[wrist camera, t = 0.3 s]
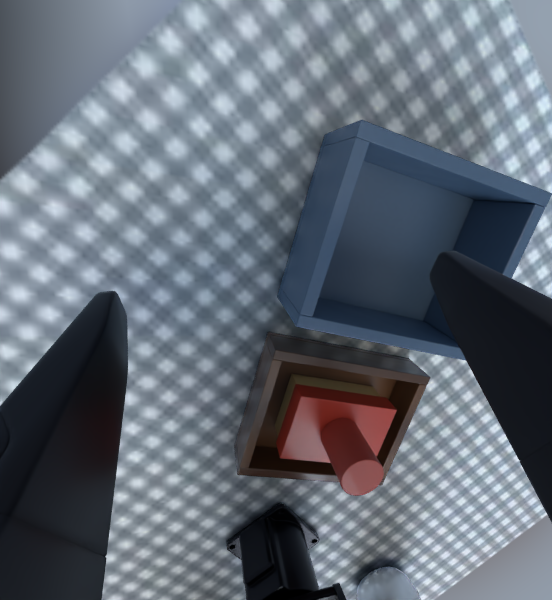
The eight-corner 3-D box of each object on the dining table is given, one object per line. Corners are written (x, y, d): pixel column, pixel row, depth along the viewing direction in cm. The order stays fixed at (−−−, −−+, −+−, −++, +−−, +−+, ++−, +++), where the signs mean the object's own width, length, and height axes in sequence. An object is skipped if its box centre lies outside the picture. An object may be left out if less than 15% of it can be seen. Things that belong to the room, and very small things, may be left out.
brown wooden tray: (366, 459, 31) (382, 486, 29) (234, 446, 28) (237, 475, 25) (409, 358, 29) (430, 377, 26) (267, 331, 26) (275, 349, 23)
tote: (422, 328, 28) (472, 362, 23) (276, 296, 25) (295, 327, 20) (481, 191, 25) (552, 193, 20) (324, 134, 22) (361, 119, 17)
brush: (376, 384, 28) (430, 449, 21) (354, 436, 30) (399, 513, 23) (289, 370, 26) (319, 437, 19) (271, 427, 28) (293, 508, 21)
